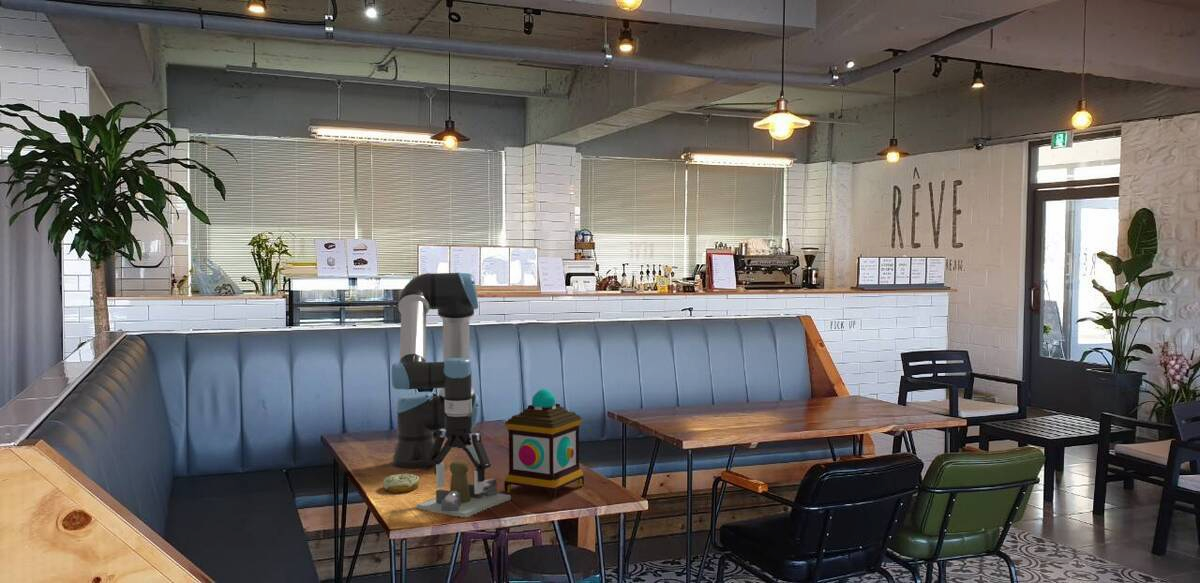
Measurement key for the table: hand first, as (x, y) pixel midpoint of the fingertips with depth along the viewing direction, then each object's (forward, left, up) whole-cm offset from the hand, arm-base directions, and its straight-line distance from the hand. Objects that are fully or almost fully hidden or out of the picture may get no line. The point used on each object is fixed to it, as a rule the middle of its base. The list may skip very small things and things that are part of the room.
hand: (459, 489), depth 246 cm
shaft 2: (+3, +8, -3) cm, 9 cm away
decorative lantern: (+12, +24, -4) cm, 28 cm away
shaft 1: (+3, -7, -3) cm, 8 cm away
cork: (0, 0, -3) cm, 3 cm away
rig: (+1, +1, -4) cm, 4 cm away
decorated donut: (-26, +4, -4) cm, 27 cm away
